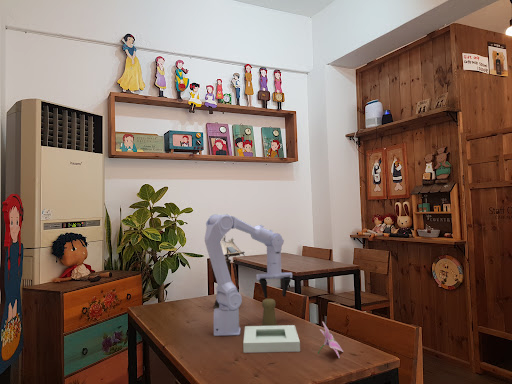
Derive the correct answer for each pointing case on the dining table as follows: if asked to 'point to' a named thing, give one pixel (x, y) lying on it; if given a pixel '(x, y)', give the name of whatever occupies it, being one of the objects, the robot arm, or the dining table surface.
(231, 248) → the bird statue
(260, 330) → the slot box
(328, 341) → the lily
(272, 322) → the cork
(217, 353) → the dining table surface
